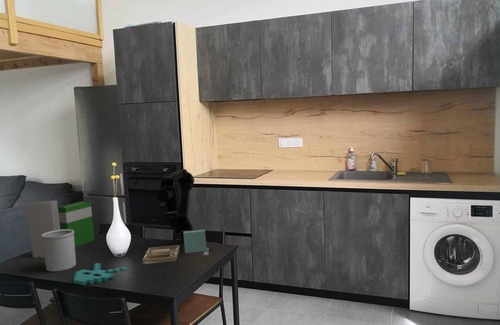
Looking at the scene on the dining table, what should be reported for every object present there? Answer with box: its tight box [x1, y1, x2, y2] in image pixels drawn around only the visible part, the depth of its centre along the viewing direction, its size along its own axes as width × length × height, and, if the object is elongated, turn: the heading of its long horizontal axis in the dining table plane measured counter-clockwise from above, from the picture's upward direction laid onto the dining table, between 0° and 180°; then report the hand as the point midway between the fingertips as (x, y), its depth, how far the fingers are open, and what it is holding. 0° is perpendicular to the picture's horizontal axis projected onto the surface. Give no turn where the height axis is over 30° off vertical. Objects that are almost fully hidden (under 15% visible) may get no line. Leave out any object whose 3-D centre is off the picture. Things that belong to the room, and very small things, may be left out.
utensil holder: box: [41, 229, 77, 272], centre depth 210 cm, size 15×15×18 cm
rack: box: [142, 244, 181, 265], centre depth 213 cm, size 20×16×3 cm
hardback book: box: [57, 200, 96, 248], centre depth 251 cm, size 18×7×24 cm, turn 150°
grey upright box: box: [26, 200, 60, 259], centre depth 230 cm, size 14×6×30 cm, turn 84°
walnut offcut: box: [148, 253, 170, 259], centre depth 208 cm, size 4×10×2 cm, turn 100°
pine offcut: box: [152, 249, 170, 256], centre depth 208 cm, size 4×8×2 cm, turn 91°
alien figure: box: [72, 262, 129, 286], centre depth 194 cm, size 20×2×20 cm
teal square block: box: [183, 229, 208, 254], centre depth 217 cm, size 3×11×11 cm, turn 95°
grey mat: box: [202, 247, 210, 256], centre depth 218 cm, size 11×13×1 cm
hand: (173, 227), depth 223 cm, fingers open, 9 cm apart
